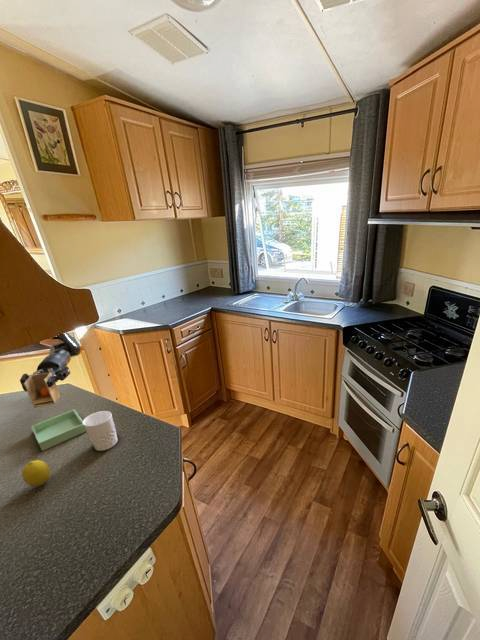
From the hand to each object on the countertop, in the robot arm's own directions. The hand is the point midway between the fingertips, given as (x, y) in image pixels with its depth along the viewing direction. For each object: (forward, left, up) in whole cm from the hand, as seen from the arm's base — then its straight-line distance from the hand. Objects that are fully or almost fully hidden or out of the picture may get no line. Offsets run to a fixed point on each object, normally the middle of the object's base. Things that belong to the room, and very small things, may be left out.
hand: (37, 386), depth 93 cm
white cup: (+9, -20, -18) cm, 29 cm away
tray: (+1, -1, -18) cm, 18 cm away
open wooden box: (+1, +2, -7) cm, 7 cm away
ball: (+2, +3, -4) cm, 5 cm away
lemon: (-9, -24, -18) cm, 32 cm away
